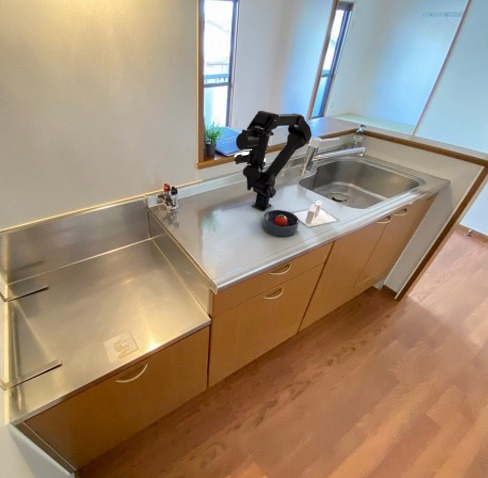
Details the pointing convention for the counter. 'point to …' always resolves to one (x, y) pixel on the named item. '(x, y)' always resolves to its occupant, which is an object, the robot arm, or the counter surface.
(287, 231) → the bowl
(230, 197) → the counter surface
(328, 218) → the napkin holder
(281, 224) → the tomato
